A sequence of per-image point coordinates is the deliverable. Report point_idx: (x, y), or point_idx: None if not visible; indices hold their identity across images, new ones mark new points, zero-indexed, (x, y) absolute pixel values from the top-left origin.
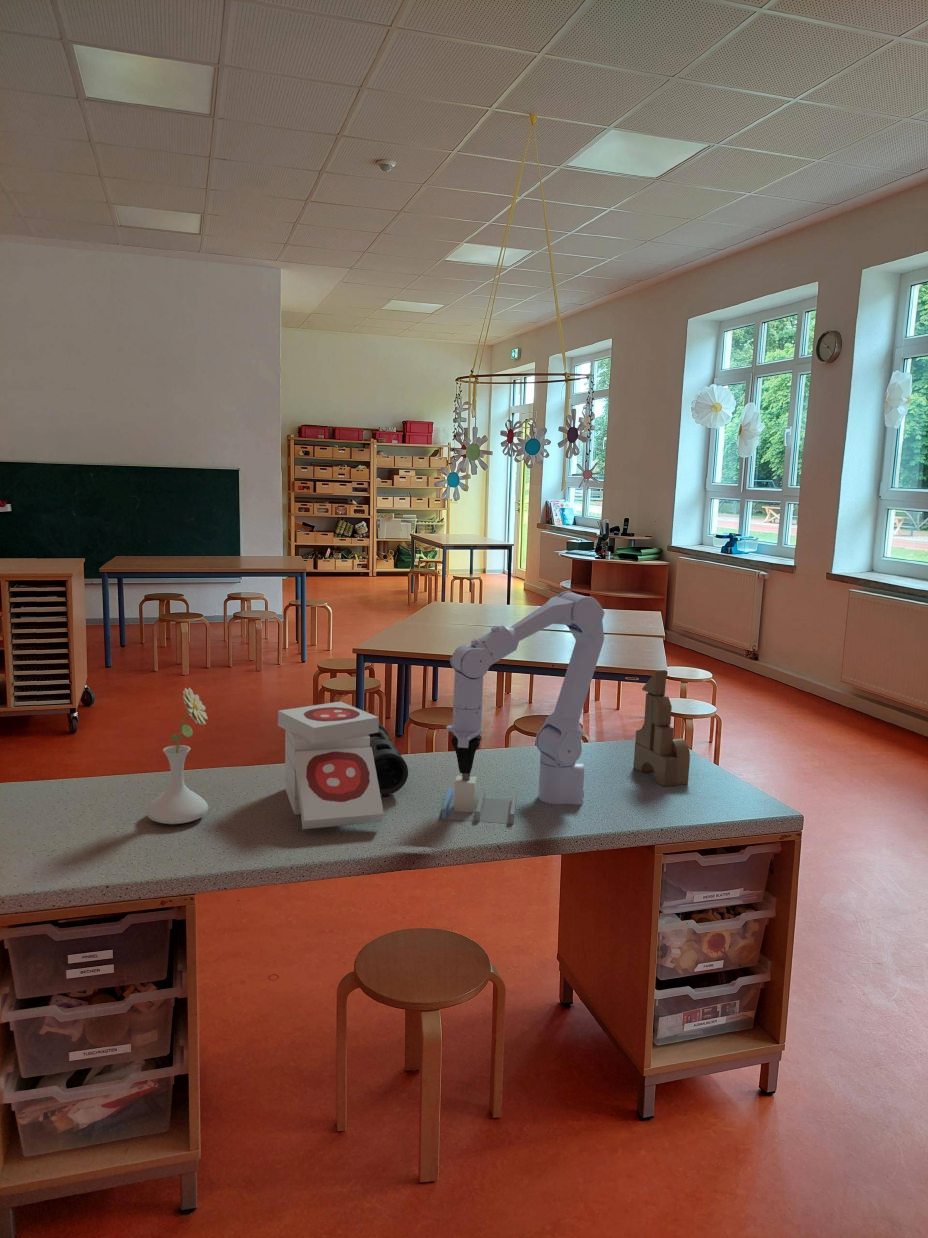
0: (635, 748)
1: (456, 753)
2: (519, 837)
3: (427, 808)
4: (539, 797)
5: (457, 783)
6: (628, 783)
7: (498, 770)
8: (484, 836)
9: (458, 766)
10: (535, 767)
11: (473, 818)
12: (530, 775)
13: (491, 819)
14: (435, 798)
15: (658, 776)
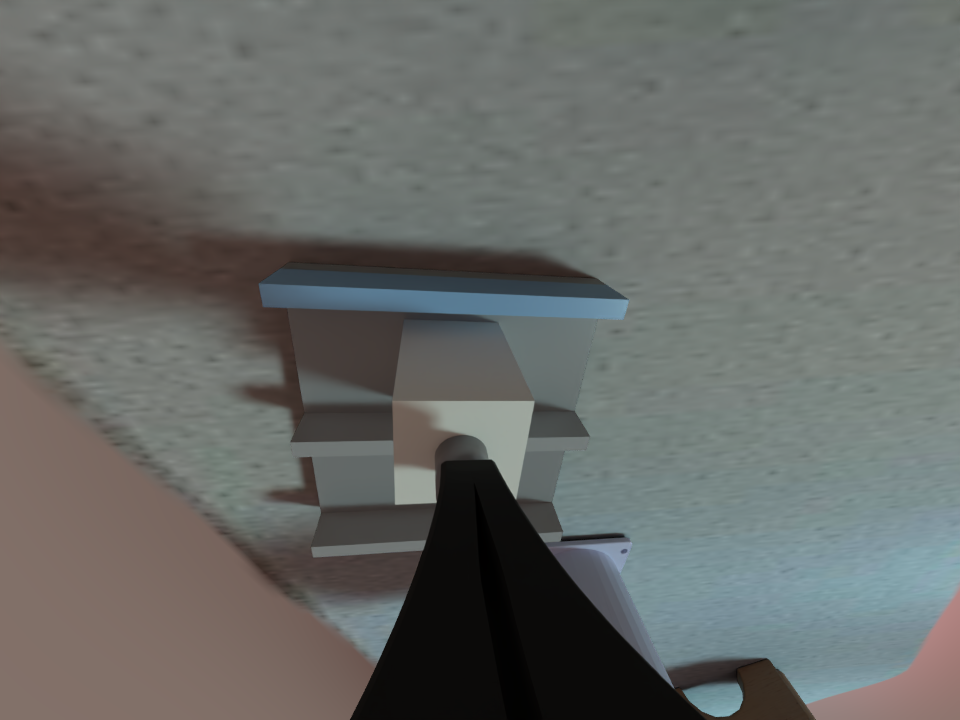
0: (804, 718)
1: (387, 648)
2: (260, 526)
3: (485, 171)
4: (563, 563)
5: (393, 411)
6: (678, 660)
7: (870, 428)
8: (218, 437)
9: (443, 494)
10: (849, 514)
11: (333, 404)
12: (789, 509)
13: (343, 462)
14: (624, 207)
15: None
